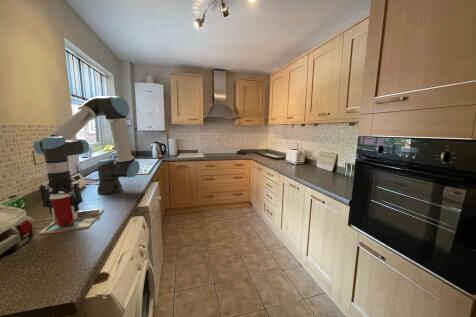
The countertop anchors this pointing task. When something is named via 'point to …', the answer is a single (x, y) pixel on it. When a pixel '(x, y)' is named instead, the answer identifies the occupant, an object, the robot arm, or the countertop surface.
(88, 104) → the robot arm
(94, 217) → the board
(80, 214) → the rail
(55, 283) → the countertop surface
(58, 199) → the coffee cup
